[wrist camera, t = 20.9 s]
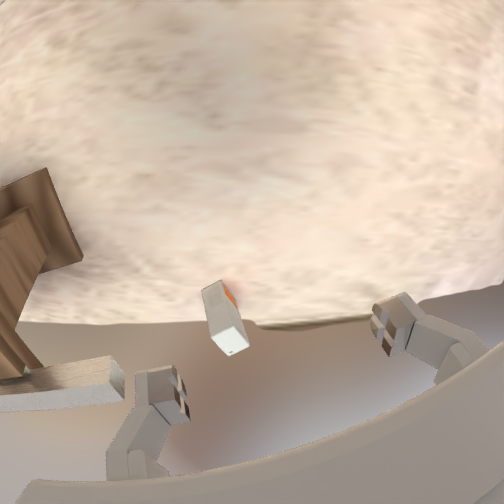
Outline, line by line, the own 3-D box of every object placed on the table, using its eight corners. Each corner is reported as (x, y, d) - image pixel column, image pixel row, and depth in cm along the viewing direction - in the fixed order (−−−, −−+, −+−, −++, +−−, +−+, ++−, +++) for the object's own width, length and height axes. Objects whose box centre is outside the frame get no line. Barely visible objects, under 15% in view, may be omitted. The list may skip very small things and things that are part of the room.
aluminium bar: (110, 355, 25) (108, 382, 22) (124, 374, 26) (124, 400, 24) (-51, 378, 22) (-58, 397, 19) (-37, 393, 23) (-42, 411, 21)
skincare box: (236, 299, 60) (251, 346, 50) (216, 309, 60) (228, 357, 50) (220, 278, 56) (234, 326, 46) (200, 289, 56) (209, 338, 46)
